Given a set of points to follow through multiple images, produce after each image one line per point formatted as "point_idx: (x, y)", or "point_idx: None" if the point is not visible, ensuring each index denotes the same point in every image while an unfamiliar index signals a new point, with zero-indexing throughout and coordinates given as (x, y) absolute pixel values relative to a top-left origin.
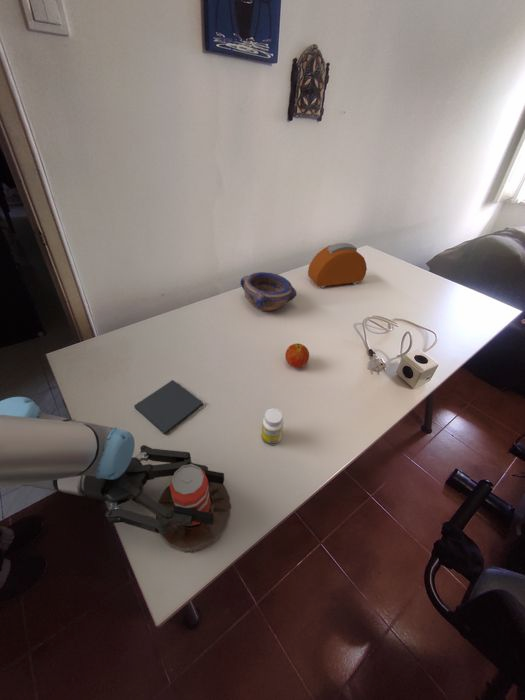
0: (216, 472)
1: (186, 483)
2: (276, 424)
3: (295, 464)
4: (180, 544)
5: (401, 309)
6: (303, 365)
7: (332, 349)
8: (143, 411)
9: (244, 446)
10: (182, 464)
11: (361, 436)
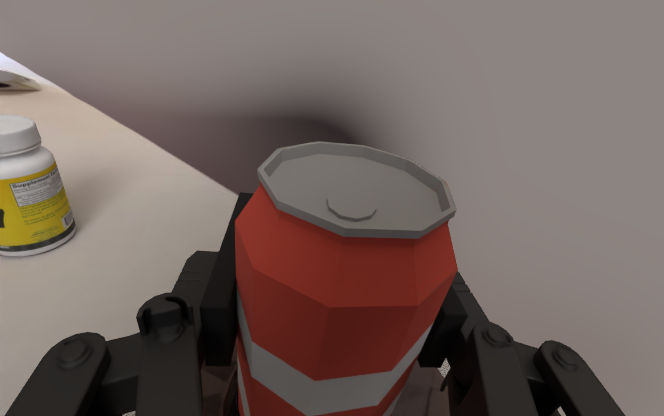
0: (237, 209)
1: (378, 191)
2: (38, 133)
3: (157, 201)
4: (447, 401)
5: None
6: None
7: None
8: None
9: (35, 301)
10: (169, 359)
11: (118, 135)
